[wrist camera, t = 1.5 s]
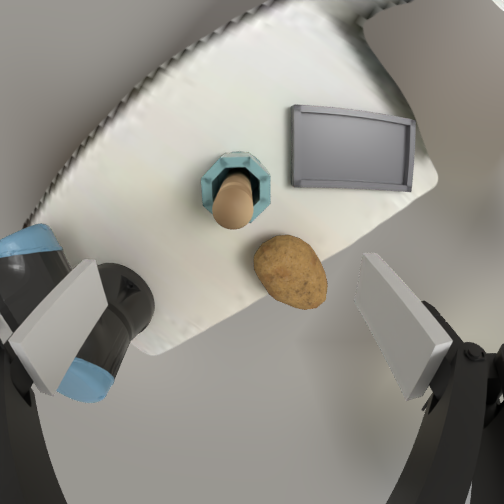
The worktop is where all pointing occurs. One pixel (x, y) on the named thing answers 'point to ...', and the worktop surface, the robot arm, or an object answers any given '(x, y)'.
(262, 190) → the cup
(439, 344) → the robot arm
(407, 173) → the tray
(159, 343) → the worktop surface
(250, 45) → the worktop surface
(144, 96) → the worktop surface
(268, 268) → the potato
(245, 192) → the dowel
